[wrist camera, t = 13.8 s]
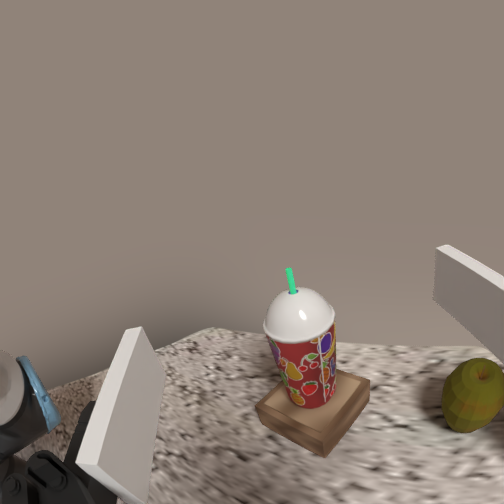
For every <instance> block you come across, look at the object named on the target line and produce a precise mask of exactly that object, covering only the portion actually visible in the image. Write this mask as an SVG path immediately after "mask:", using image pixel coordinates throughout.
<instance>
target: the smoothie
mask: <svg viewBox="0 0 504 504" xmlns="http://www.w3.org/2000/svg"><path fill="white" fill-rule="evenodd" d="M286 274H287V279H288V283H289V288H290V289H287V290H284V291H283V292H281V293H280V294H278V295H277V296H276V297H275V298H274V299H273V301H272V303H271V304H270V306H269V308H268V310H267V314H266V317H265V319H264V321H263V329H264V331H265V333H266V336H267V339H268V342H269V344H270V347H271V350H272V353H273V355H274V358H275V361H276V364H277V366H278V369H279V372H280V375H281V377H282V380H283V383H284V385H285V388H286V391H287V393H288V396H289V398H290V400H291V401H293V402H294V403H295V404H297V405H298V406H300V407H303V408H307V409H313V408H318V407H321V406H323V405H325V404H326V403H327V402H328V401H329V400H330V399H331V397H332V396H333V394H334V393H335V390H336V336H335V312H334V308H332V306H331V305H330V304H329V303H328V302H327V301H326V300H325V299H324V298H323V297H322V296H321V295H320V294H319V293H318V292H316V291H314V290H312V289H309V288H306V287H295V283H294V278H293V273H292V269H291V268H286Z"/></svg>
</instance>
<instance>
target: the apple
mask: <svg viewBox="0 0 504 504" xmlns="http://www.w3.org/2000/svg"><path fill="white" fill-rule="evenodd" d="M503 405H504V373H503V372H502V370H501V368H500V367H499V366H498V365H497V364H496V363H495V362H493V361H491V360H488V359H485V358H474V359H470V360H468V361H465V362H463V363H461V364H460V365H459V366H458V367H457V368H456V369H455V370H454V371H453V372H452V373H451V374H450V375H449V376H448V377H447V379H446V382H445V384H444V387H443V393H442V412H443V414H444V417H445V419H446V422H447V424H448V425H449V426H450V427H451V428H452V429H453V430H454V431H457V432H460V433H470V432H473V431H475V430H477V429H479V428H481V427H483V426H485V425H487V424H489V423H490V422H491V420H492V419H493V418H494V417H495V416H496V414H497V413H498V412H499V411H500V409H501V408H502V407H503Z"/></svg>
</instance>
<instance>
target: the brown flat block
mask: <svg viewBox="0 0 504 504" xmlns="http://www.w3.org/2000/svg"><path fill="white" fill-rule="evenodd" d="M369 396H370V380H368V379H365V378H362V377H359V376H356V375H353V374H350V373H347V372H344V371H341V370H338V369H336V390H335V393H334V394H333V396H332V397H331V399H330V400H329V401H328V402H327V403H326V404H325V405H323V406H321V407H318V408H313V409H307V408H303V407H300V406H298V405H297V404H295V403H294V402H293V401H291V400H290V398H289V396H288V393H287V391H286V388H285V385H284V383H283V380H282V381H281V382H280V383H279V384H278V385H277V386H276V387H275V388H274V389H272V390H271V391H270V392H269V393H268V394H267V395H266V396H265V397H264V398H263V399H262V400H260V401H259V402H258V403H257V404H256V405H255V408H256V410H257V413H258V415H259V417H260V420H261V422H262V424H263V425H265V426H266V427H268V428H270V429H271V430H273V431H275V432H276V433H278V434H280V435H282V436H283V437H285V438H287V439H289V440H291V441H292V442H294V443H296V444H298V445H300V446H302V447H304V448H305V449H307V450H309V451H311V452H313V453H315V454H317V455H319V456H321V457H323V458H326V456H327V455H328V454H329V453H330V452H331V450H332V449H333V448H334V447H335V446H336V444H337V443H338V442H339V441H340V439H341V438H342V437H343V436H344V434H345V433H346V432H347V431H348V429H349V428H350V427H351V425H352V424H353V423H354V421H355V420H356V419H357V417H358V416H359V414H360V413H361V412H362V410H363V409H364V407H365V406H366V405H367V403H368V402H369Z"/></svg>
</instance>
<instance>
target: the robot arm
mask: <svg viewBox="0 0 504 504" xmlns="http://www.w3.org/2000/svg"><path fill="white" fill-rule="evenodd" d="M435 254H436V255H435V277H434V291H433V300H434V301H435V302H436V303H437V304H439V305H440V306H441V307H442V308H443V309H444V310H446V311H447V312H448V313H449V314H450V315H451V316H453V317H454V318H455V319H456V320H457V321H458V322H459V323H460V324H461V325H463V326H464V327H465V328H466V329H467V330H468V331H469V332H470V333H471V334H473V335H474V336H475V337H476V338H477V339H478V340H479V341H480V342H481V343H482V344H483V345H484V346H485V347H486V348H487V349H489V350H490V351H491V352H492V353H493V354H494V355H495V356H496V357H497V358H498V359H499V360H500V361H501V362H502V363H503V364H504V277H503V276H501V275H500V274H498V273H497V272H495V271H493V270H491V269H490V268H488V267H487V266H485V265H483V264H482V263H480V262H478V261H476V260H475V259H473V258H471V257H469V256H468V255H466V254H464V253H462V252H461V251H459V250H457V249H455V248H453V247H452V246H450V245H448V244H446V245H443V246H440V247H438V248H436V253H435ZM166 375H167V374H166V373H165V371H164V369H163V367H162V365H161V363H160V362H159V360H158V358H157V356H156V354H155V352H154V350H153V348H152V346H151V344H150V342H149V340H148V338H147V336H146V334H145V332H144V330H143V328H142V327H137V328H132V329H127V330H126V331H125V333H124V335H123V338H122V340H121V342H120V345H119V347H118V349H117V352H116V354H115V356H114V359H113V361H112V363H111V366H110V368H109V371H108V373H107V376H106V378H105V381H104V383H103V386H102V388H101V391H100V393H99V396H98V398H97V401H90V402H89V403H88V405H87V406H86V407H85V408H84V410H83V411H82V413H81V415H80V418H79V421H78V424H77V426H76V428H75V433H74V434H73V437H72V439H71V442H70V445H69V448H68V451H67V453H66V456H65V459H64V462H62V461H61V460H60V459H59V458H57V457H56V456H55V455H54V454H53V453H52V452H50V451H48V450H41V451H38V452H36V453H35V454H33V455H32V456H31V457H30V458H29V460H28V461H25V460H23V459H21V458H19V457H17V456H15V455H14V454H15V453H17V452H18V451H20V450H21V449H23V448H25V447H26V446H28V445H29V444H31V443H32V442H34V441H36V440H37V439H39V438H40V437H42V436H43V435H45V434H46V433H47V434H49V433H50V432H51V430H52V429H53V428H55V427H56V426H57V425H59V423H60V421H61V416H60V413H59V411H58V410H57V408H56V406H55V404H54V403H53V401H52V399H51V398H50V396H49V394H48V393H47V391H46V389H45V387H44V386H43V384H42V382H41V380H40V379H39V377H38V375H37V373H36V372H35V369H34V368H33V366H32V364H31V362H30V360H29V359H28V358H27V357H26V356H21V357H17V358H16V360H15V359H14V358H13V357H12V356H11V355H10V354H9V353H7V352H5V351H3V350H0V504H116V502H117V497H119V498H120V499H121V500H123V501H124V502H126V503H128V504H148V495H149V486H150V477H151V469H152V462H153V454H154V447H155V440H156V433H157V427H158V421H159V414H160V408H161V403H162V397H163V391H164V385H165V380H166Z"/></svg>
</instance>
